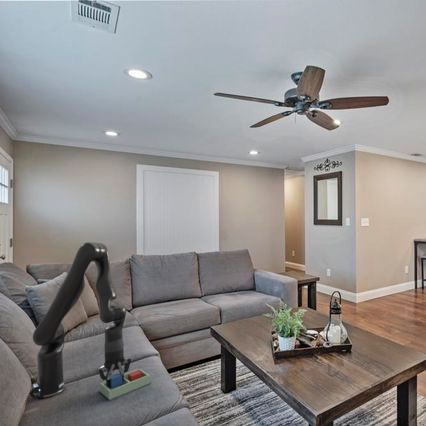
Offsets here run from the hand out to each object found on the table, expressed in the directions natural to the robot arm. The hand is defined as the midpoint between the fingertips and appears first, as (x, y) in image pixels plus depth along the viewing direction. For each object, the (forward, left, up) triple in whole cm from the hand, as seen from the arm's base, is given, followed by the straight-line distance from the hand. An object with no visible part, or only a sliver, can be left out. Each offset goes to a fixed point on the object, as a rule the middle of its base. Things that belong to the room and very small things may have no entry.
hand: (115, 384), depth 152 cm
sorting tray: (+4, 0, -3) cm, 5 cm away
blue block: (0, 0, 0) cm, 0 cm away
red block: (+9, 0, -3) cm, 9 cm away
